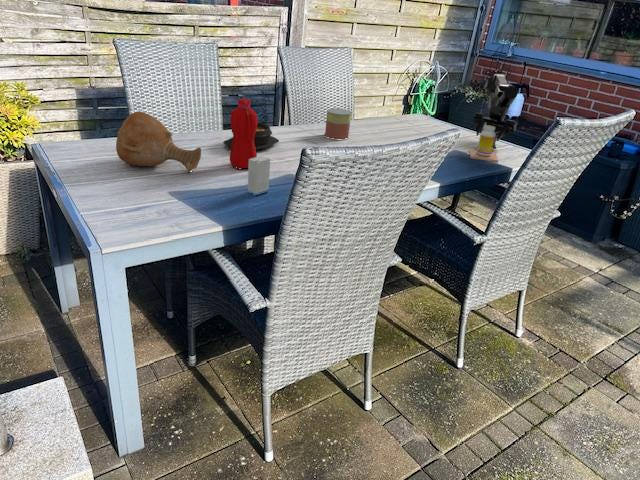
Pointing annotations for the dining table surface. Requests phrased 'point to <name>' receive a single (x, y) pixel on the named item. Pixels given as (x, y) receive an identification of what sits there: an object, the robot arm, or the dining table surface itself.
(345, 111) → the canned food
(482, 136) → the supplement bottle
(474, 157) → the terracotta tile
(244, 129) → the water bottle
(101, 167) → the dining table surface
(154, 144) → the jug
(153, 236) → the dining table surface
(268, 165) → the skincare box
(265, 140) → the black hat
